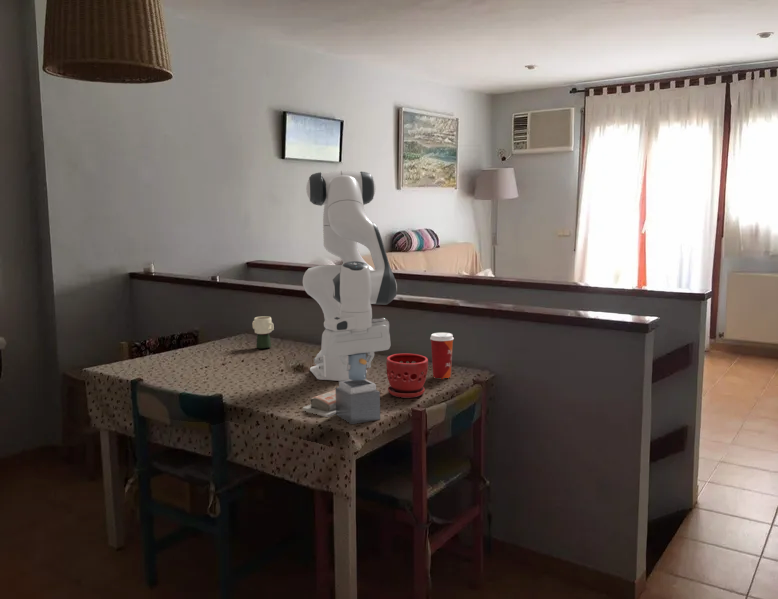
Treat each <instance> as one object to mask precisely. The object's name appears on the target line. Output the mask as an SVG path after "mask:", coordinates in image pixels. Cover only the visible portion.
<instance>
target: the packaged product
mask: <svg viewBox="0 0 778 599" xmlns="http://www.w3.org/2000/svg"><path fill="white" fill-rule="evenodd" d="M302 410H303V412H305V411H306V412H305V413H309V414H312V413H313V414H314V415H316V414H317V415H316V416H321V417H325V418H328V417H332V416H334V415H336V388H335V389H333V390H330V391H327V392H324V393H321V394H319V395H315V396H312V397H311V399H310V404H308V405H305V406H303V407H302Z"/></svg>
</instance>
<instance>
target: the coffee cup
mask: <svg viewBox="0 0 778 599" xmlns="http://www.w3.org/2000/svg"><path fill="white" fill-rule="evenodd" d="M453 336H454V335H453V333H450V332H434V333H432V334H431V335H430V338H429V340H430V345H431V366H432V376H433V378H434V377H435V378H434V379H436V378H441V379H440V380H444V379H443V378H448V379H450V378H451V377H452V361H453V344H454V343H453V342H454V339H455V338H454V337H453ZM449 377H450V378H449Z"/></svg>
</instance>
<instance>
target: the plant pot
mask: <svg viewBox="0 0 778 599" xmlns="http://www.w3.org/2000/svg"><path fill="white" fill-rule="evenodd" d="M407 362H408V363H407ZM428 371H429V358H428V357H426V356H424V355H422V354H417V353H394V354H391V355H388V356H387V357H386V377H387V380H388V383H389V386H388V387H387V391H388V393H389V394H390V395H391V396H394V397H395V398H400V397H401V398H403V399H404V398H405V399H411V398H413V399H414V398H417V397H420V396H422V395H423V394H424V393H425V387H424V386H425V383H426V380H427V374H428ZM401 398H400V399H401Z"/></svg>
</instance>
